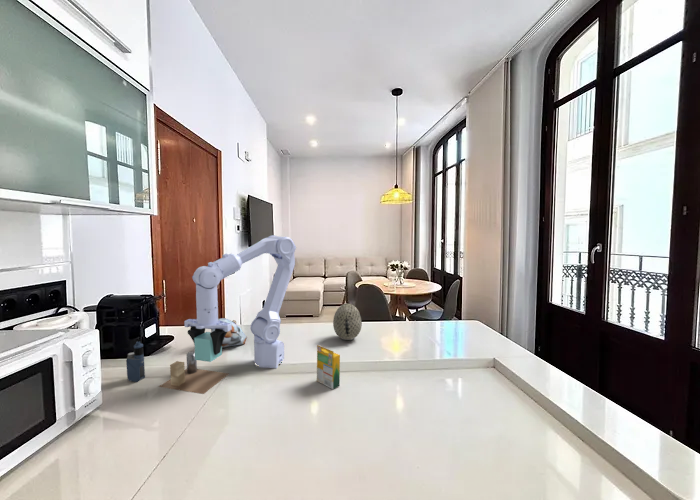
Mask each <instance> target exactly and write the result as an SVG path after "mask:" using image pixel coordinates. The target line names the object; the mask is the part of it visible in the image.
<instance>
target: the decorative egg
mask: <svg viewBox="0 0 700 500" xmlns="http://www.w3.org/2000/svg"><path fill="white" fill-rule="evenodd" d="M362 321H363V320H362V316H361V314H360V311H359V309H358V308H357V307H356V306H355V305H354V304H352V303H343V304H341V305H340V306H339V307H338V308H337V309H336V311H335V312H334V315H333V322H332V323H333V330H334V333H335V334H336V336H337V337H338V338H339V339H342V340H343V341H344V340H345V341H351V340H353V339H355V338H356V337H358V335H359V334H360V332H361V330H362V326H363V325H362V324H363V323H362Z"/></svg>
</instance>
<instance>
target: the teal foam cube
mask: <svg viewBox="0 0 700 500" xmlns="http://www.w3.org/2000/svg"><path fill="white" fill-rule="evenodd" d="M210 333H211V331H205V333H203V334H201V335H199V336H197V337H195V338H194V342H193V344H194V343H195V345H194V352H195V360H197V361H202V362H209V363H212V362H213V361H215V360H216V359H218V358H219V357H220V356H222V355H223V351H222V350H223V348H222V346H221V351H220V353H218V354H217V355H214V351H213V342H212V338H211V335H210Z"/></svg>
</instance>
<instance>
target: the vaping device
mask: <svg viewBox="0 0 700 500" xmlns="http://www.w3.org/2000/svg"><path fill="white" fill-rule="evenodd" d="M125 361H126V365H125V366H126V378H127V380H128V381H129V382H134V383H135V382H136V383H139V382H140V381H141V380H143V379H145V378H146V373H145V372H146V371H145V356H144V344H143V343H141V341H136V343H135V344H134V345H133V352H129V353H127V357H126V359H125Z"/></svg>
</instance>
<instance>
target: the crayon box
mask: <svg viewBox="0 0 700 500" xmlns="http://www.w3.org/2000/svg"><path fill="white" fill-rule="evenodd" d="M340 368H341V354H338V353H337V352H334V351H333V350H331V349H329V348H327V347H324V346H322V345H318V344H317V345H316V382H318V383H320V384H322V385H324V386H326V387H328V388H329V389H331V390H334V389H337V388H338V387H340V379H341V378H340V377H341V376H340V375H341V369H340Z"/></svg>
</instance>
